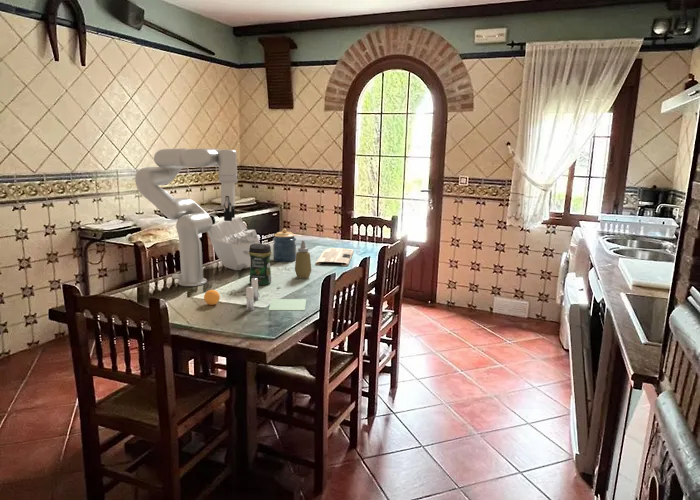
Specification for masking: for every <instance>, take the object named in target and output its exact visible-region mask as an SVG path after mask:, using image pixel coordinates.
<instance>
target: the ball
mask: <svg viewBox="0 0 700 500" xmlns="http://www.w3.org/2000/svg"><path fill="white" fill-rule="evenodd" d="M220 298H221V297H220V293H219V292H218V291H217V290H215V289H208V290H207V291H206V292H204V295H203V300H204V302H205V303H206V304H207V305H209V306H214V305H216V304H218V303H219V301H220Z"/></svg>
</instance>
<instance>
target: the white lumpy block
mask: <svg viewBox="0 0 700 500" xmlns="http://www.w3.org/2000/svg"><path fill="white" fill-rule="evenodd" d="M206 233H207V234H208V237H209V240H210V242H211V244H212V246H213V247H212V248H213V250H214V253H215V255H216V257H217V258H218V259H219V260H220V262H221V264H222V265H223V266H224V268H226V267H227V268H228V269H231V270H234V271H242V270H243V269H247V268H249V267H251V258H250V255H249V249H250V245H252V244H261V242H260V240H259V237H258V234H257V232H256V229H248V228H247V226H246V225H245V223H244V221H243V218H242V217H241V216H237V215H235V217H234V218H232V221H224V218H223V219H221V220H220V221H217V222H215V223H212V227H211V229H210V230H209V231H207V232H206ZM227 268H226V269H227Z"/></svg>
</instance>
